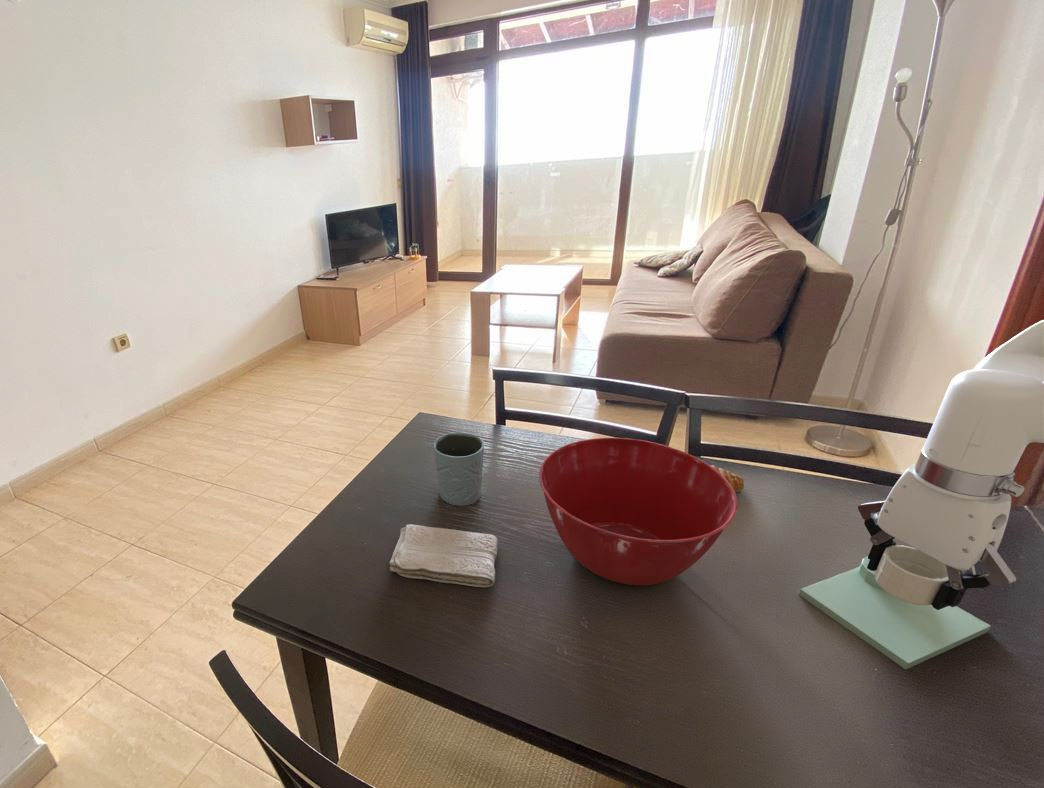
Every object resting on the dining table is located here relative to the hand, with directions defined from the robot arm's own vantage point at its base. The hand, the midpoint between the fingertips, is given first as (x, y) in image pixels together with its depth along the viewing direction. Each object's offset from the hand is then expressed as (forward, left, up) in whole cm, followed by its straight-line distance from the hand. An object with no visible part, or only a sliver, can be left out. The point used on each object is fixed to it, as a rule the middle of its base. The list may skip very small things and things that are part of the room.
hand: (908, 584), depth 71 cm
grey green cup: (+40, -54, -8) cm, 68 cm away
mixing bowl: (+23, -26, -8) cm, 36 cm away
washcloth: (+51, -37, -8) cm, 63 cm away
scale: (-3, -2, -8) cm, 9 cm away
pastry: (-7, -36, -8) cm, 38 cm away
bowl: (0, 0, -1) cm, 1 cm away
